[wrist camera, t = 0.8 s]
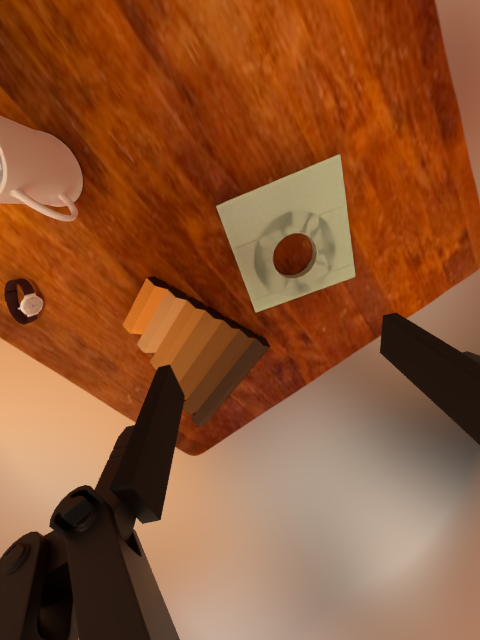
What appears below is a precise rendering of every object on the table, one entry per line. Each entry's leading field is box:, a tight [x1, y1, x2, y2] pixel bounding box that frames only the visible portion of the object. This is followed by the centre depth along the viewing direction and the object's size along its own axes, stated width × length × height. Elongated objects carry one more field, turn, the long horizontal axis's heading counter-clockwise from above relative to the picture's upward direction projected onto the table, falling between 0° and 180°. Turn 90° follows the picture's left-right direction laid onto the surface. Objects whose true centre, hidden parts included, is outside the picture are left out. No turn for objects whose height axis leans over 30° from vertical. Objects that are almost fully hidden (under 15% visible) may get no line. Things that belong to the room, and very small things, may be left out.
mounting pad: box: [216, 154, 355, 313], centre depth 35 cm, size 18×18×2 cm
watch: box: [4, 279, 43, 325], centre depth 36 cm, size 8×5×4 cm, turn 165°
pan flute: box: [123, 276, 270, 427], centre depth 43 cm, size 25×3×25 cm
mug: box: [0, 116, 83, 221], centre depth 25 cm, size 12×8×12 cm
